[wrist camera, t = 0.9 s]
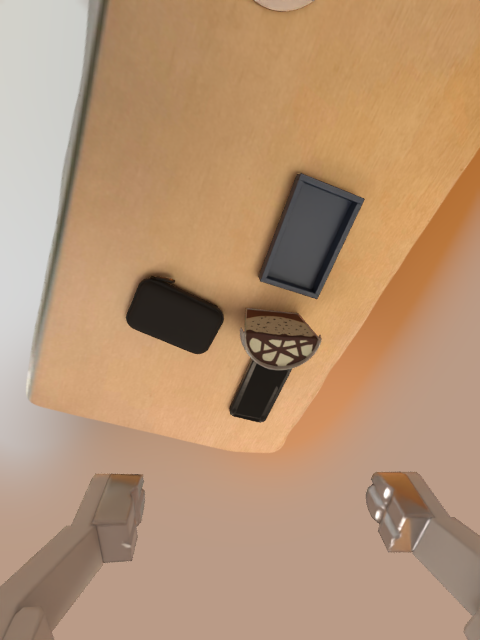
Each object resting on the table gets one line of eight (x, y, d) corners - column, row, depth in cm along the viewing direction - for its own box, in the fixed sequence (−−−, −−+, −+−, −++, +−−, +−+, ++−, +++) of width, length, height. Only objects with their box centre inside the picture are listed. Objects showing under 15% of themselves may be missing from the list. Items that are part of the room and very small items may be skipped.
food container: (232, 338, 53) (235, 370, 44) (237, 307, 50) (241, 334, 41) (298, 344, 54) (314, 376, 45) (306, 313, 52) (324, 341, 43)
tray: (296, 173, 42) (301, 173, 40) (357, 198, 44) (364, 198, 42) (258, 276, 48) (260, 281, 46) (312, 294, 50) (317, 299, 48)
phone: (228, 415, 59) (255, 353, 53) (228, 411, 60) (254, 350, 54) (264, 423, 60) (294, 365, 54) (263, 419, 61) (293, 361, 56)
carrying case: (230, 303, 50) (148, 264, 46) (231, 310, 47) (143, 269, 43) (204, 352, 53) (125, 319, 50) (203, 361, 51) (120, 327, 47)
